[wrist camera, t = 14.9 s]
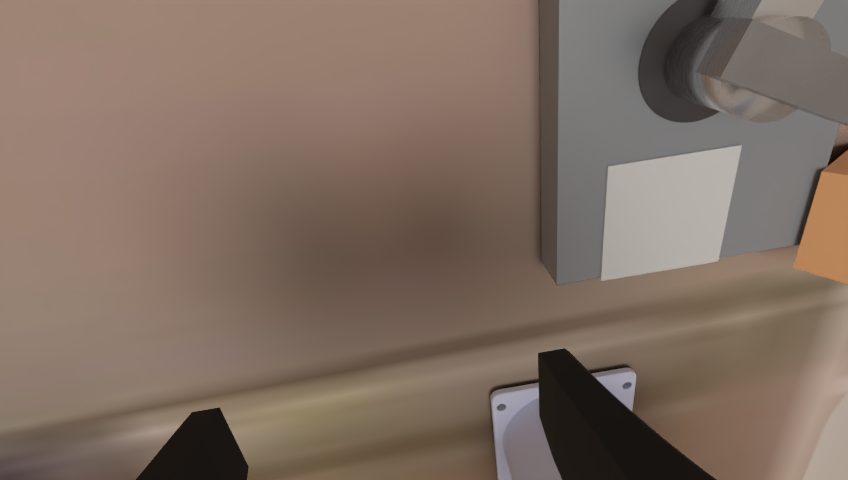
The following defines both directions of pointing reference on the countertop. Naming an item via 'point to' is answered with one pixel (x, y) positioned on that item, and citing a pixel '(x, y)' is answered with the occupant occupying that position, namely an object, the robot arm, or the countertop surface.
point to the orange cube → (827, 226)
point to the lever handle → (760, 62)
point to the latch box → (660, 148)
